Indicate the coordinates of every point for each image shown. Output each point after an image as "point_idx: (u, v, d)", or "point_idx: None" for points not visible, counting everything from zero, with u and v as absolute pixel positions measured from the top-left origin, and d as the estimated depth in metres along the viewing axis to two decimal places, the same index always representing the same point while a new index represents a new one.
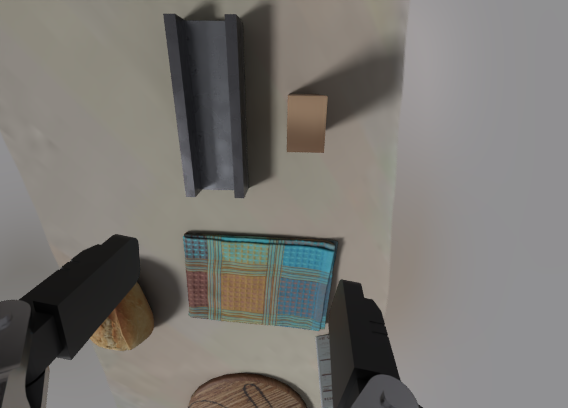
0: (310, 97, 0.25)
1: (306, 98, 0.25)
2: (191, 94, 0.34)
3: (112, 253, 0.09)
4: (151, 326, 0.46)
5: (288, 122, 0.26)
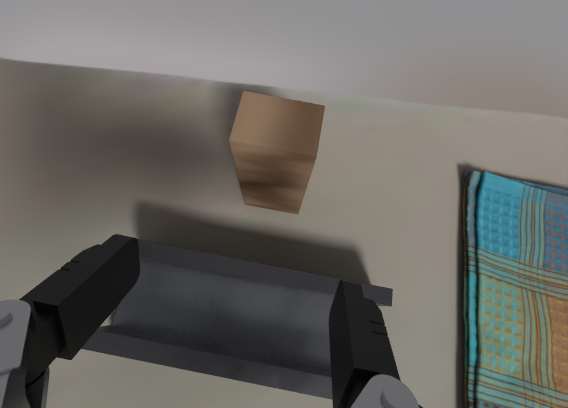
0: (239, 111, 0.16)
1: (239, 116, 0.16)
2: (209, 345, 0.21)
3: (112, 253, 0.09)
4: None
5: (269, 146, 0.16)
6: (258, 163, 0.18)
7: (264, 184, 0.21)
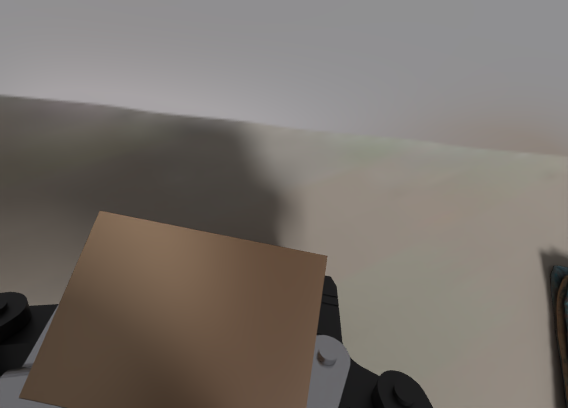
0: (75, 282, 0.06)
1: (72, 301, 0.05)
2: None
3: None
4: None
5: None
6: None
7: None
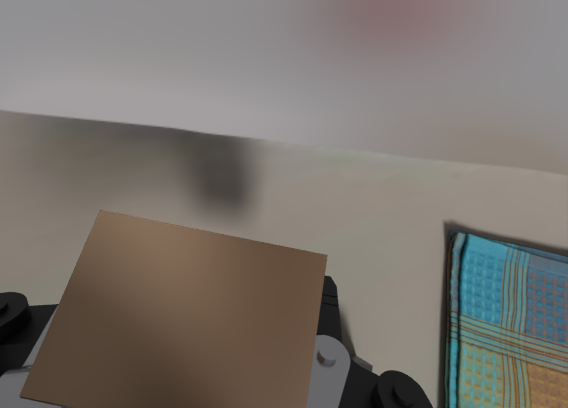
0: (75, 281, 0.06)
1: (72, 300, 0.05)
2: None
3: None
4: None
5: None
6: None
7: None
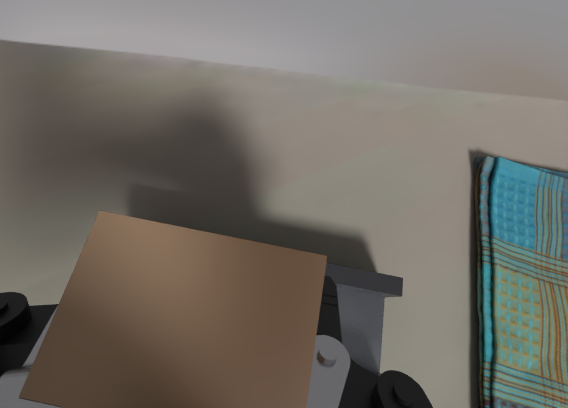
0: (75, 282, 0.06)
1: (72, 301, 0.05)
2: None
3: None
4: None
5: None
6: None
7: None
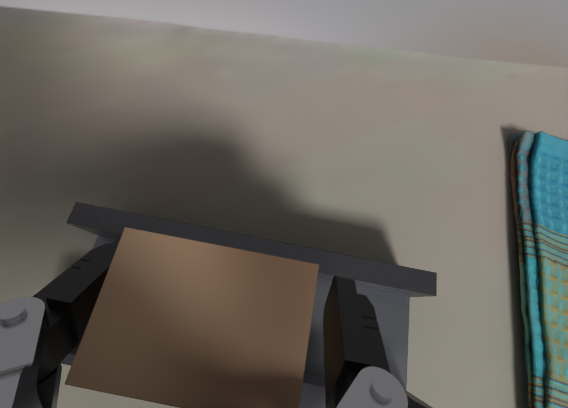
0: (106, 288, 0.07)
1: (105, 304, 0.07)
2: None
3: None
4: None
5: (171, 400, 0.06)
6: None
7: None
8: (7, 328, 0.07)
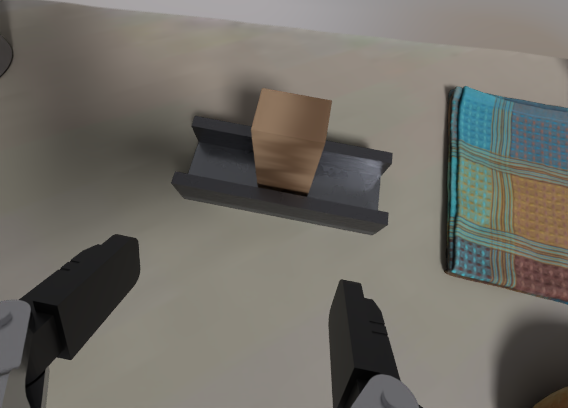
0: (259, 105, 0.19)
1: (259, 109, 0.19)
2: None
3: (112, 253, 0.09)
4: None
5: (285, 134, 0.19)
6: (274, 150, 0.21)
7: (278, 170, 0.24)
8: None
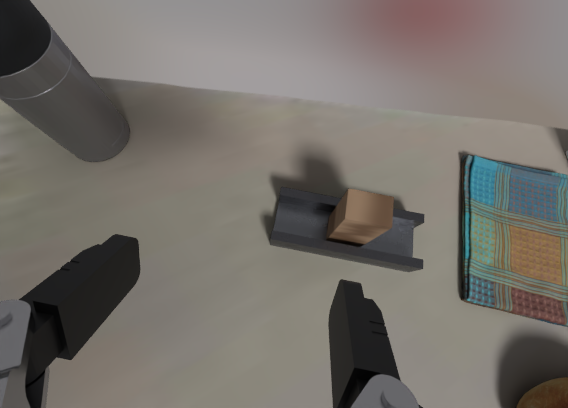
0: (348, 201, 0.30)
1: (348, 204, 0.30)
2: None
3: (112, 253, 0.09)
4: None
5: (366, 221, 0.30)
6: (354, 226, 0.32)
7: (349, 233, 0.35)
8: None
